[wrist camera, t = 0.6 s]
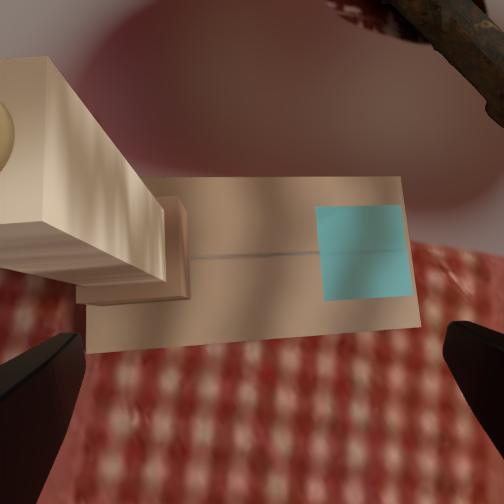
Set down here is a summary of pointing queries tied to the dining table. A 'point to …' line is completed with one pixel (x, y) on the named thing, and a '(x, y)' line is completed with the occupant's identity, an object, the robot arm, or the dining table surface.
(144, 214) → the knob-topped square post
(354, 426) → the dining table surface
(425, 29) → the hand tool
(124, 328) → the board with turquoise patch
